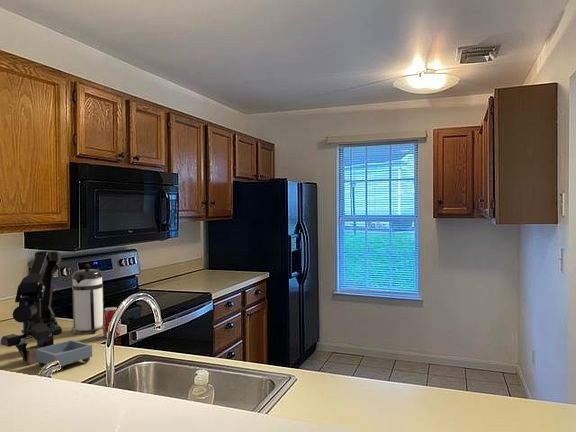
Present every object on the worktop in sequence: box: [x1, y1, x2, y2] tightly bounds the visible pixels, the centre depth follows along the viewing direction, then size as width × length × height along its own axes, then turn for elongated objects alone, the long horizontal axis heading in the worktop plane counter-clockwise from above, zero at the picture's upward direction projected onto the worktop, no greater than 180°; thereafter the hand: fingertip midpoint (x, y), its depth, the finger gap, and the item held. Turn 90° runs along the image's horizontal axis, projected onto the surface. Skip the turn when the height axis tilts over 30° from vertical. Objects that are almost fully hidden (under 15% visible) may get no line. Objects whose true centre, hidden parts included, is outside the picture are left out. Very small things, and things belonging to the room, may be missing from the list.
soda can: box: [102, 306, 122, 339], centre depth 190 cm, size 7×7×12 cm
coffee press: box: [70, 263, 105, 335], centre depth 200 cm, size 17×16×30 cm
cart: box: [36, 339, 93, 372], centre depth 156 cm, size 13×13×6 cm
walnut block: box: [22, 344, 43, 366], centre depth 160 cm, size 5×5×5 cm
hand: (33, 358), depth 160 cm, fingers closed on walnut block, 5 cm apart
